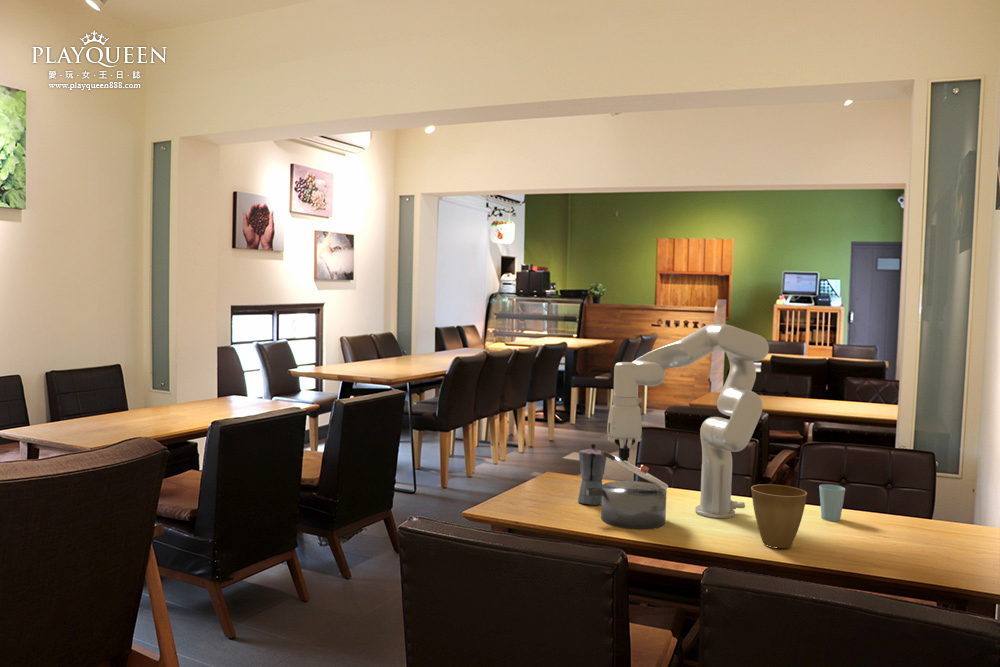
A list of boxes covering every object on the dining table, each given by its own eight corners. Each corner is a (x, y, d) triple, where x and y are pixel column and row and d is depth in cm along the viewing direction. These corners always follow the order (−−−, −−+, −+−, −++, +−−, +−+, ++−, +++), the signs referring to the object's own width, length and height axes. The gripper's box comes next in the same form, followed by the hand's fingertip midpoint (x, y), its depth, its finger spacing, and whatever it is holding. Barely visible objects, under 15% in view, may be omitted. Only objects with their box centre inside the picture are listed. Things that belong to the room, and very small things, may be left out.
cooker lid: (653, 480, 239) (657, 471, 239) (675, 495, 220) (680, 486, 220) (593, 448, 236) (597, 439, 236) (610, 460, 217) (615, 451, 217)
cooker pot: (652, 510, 240) (653, 480, 240) (675, 529, 220) (676, 496, 220) (578, 511, 236) (579, 481, 236) (595, 530, 217) (596, 497, 216)
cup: (830, 523, 231) (831, 490, 231) (812, 516, 238) (813, 485, 238) (849, 521, 233) (850, 489, 233) (831, 515, 241) (832, 483, 240)
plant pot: (816, 549, 205) (818, 493, 204) (780, 557, 197) (782, 498, 197) (772, 534, 218) (775, 481, 217) (737, 541, 210) (740, 486, 210)
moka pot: (604, 497, 255) (606, 441, 254) (606, 510, 239) (608, 449, 238) (577, 496, 255) (579, 440, 255) (577, 508, 240) (579, 448, 239)
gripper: (644, 400, 232) (642, 457, 232) (599, 400, 229) (597, 457, 230) (652, 403, 224) (650, 462, 225) (605, 403, 222) (604, 462, 223)
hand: (623, 459), depth 227 cm, fingers closed
